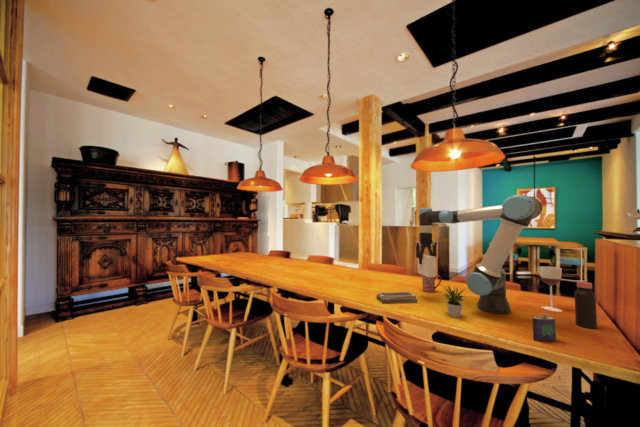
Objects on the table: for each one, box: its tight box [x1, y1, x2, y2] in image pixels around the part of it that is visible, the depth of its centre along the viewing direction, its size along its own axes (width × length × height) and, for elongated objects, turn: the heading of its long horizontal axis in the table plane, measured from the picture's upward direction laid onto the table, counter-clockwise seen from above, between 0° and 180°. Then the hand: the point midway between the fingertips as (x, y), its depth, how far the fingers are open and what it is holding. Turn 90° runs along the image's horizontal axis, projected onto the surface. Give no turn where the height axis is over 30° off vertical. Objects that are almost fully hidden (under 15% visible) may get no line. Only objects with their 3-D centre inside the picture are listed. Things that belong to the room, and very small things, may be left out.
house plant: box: [439, 283, 468, 318], centre depth 128 cm, size 14×14×16 cm
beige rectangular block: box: [416, 253, 437, 278], centre depth 156 cm, size 13×5×12 cm, turn 5°
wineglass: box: [538, 265, 563, 313], centre depth 139 cm, size 9×10×23 cm
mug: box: [421, 274, 442, 294], centre depth 173 cm, size 13×9×14 cm
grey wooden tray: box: [376, 291, 418, 305], centre depth 152 cm, size 12×21×4 cm, turn 96°
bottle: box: [573, 281, 598, 330], centre depth 115 cm, size 7×7×20 cm
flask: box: [531, 312, 557, 343], centre depth 100 cm, size 9×3×11 cm, turn 95°
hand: (426, 269), depth 155 cm, fingers closed on beige rectangular block, 5 cm apart
